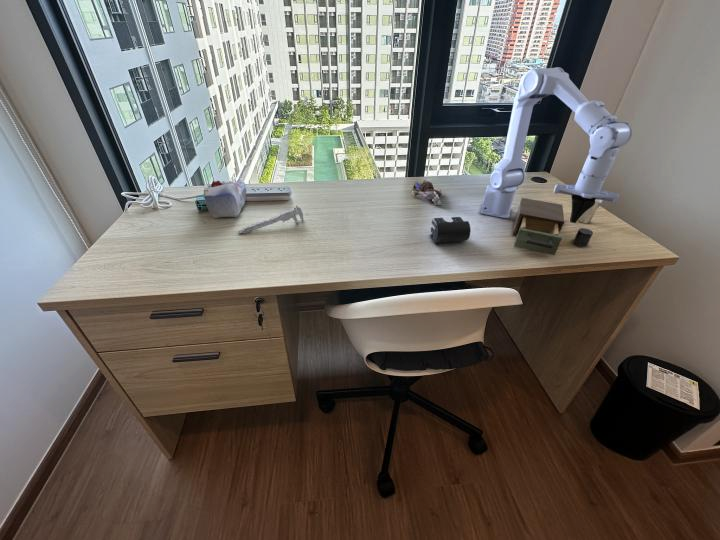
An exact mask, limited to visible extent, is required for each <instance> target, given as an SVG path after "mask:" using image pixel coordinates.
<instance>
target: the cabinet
mask: <svg viewBox="0 0 720 540" xmlns="http://www.w3.org/2000/svg"><path fill="white" fill-rule="evenodd" d="M523 217H528V218H533V219H539V220H544V221H549V222H555V223H558V230H559V234H560V233H561V231H562V229H563V226H564V224H565V215H564V206H563V204H561V203H555V202H548V201H544V200H537V199H532V198H525V197H521V199H520V202H519V205H518V208H517V211H516V214H515V217H514V224H513V229H512V230H513V231H512V236H515V237H517V235H518V230H519V226H520V223H521V221H522V218H523Z"/></svg>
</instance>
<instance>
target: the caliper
mask: <svg viewBox="0 0 720 540" xmlns="http://www.w3.org/2000/svg"><path fill="white" fill-rule="evenodd" d="M292 207H293V209H289V210H286V211H284V212H281V213H279V215H276V216H273V217H271V218H268V219H265V220H262V221H259V222H256V223H253V224H250V225H248V226H245V227H242V229H240V230H239V231H238V233H239V234H242V233H244V234H248V233H250V232H252V231H256V230H258V229H261V228H263V227H267V226H269V225H273V224H275V223H278V222H282V223H285V222H289V220H290V219H293V221H294V222H295V223H296V224H299V221H298V218H297V215H298V216H299V218H300V221H301V223H303V222H304V214H303V210H302V209H301V207H300V206H298V204H296V205H295V206H292Z"/></svg>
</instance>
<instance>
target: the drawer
mask: <svg viewBox="0 0 720 540" xmlns="http://www.w3.org/2000/svg"><path fill="white" fill-rule="evenodd" d="M562 240H563V235H560V233H559V230H558V223H555V222H549V221H544V220H539V219H533V218H528V217H523V218H522V221H521V223H520V226H519V230H518V235H517V236H516V238H515V241H514V244H513V247H514V248H517V249H523V250H528V251H530V252H531V251H532V252H537V253H541V254H545V255H551V256H555V255H556V254H557V252H558V249H559V247H560V244H561V242H562Z"/></svg>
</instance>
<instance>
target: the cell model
mask: <svg viewBox="0 0 720 540" xmlns="http://www.w3.org/2000/svg"><path fill="white" fill-rule="evenodd" d="M203 198H204V201H205V206H206V209H207V210H208V212H209V214H210V215H211V217H212V218H214V219H219V218H225V217H226V218H227V217H229V218H233V217H234V218H235V217H238V216H239V215H240V213H241V210H242V209H243V207H244V206H245V204H246V199H247V189H246V182H245V181H240V180H236V181H225V180H222V181H221V180H215V181H214V180H213V181H212V183H211V184H209V185H207V187H205V188H204V189H203Z"/></svg>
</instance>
